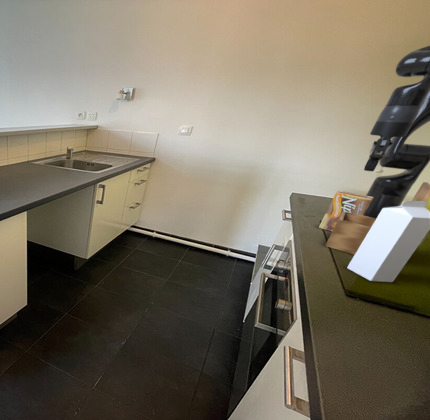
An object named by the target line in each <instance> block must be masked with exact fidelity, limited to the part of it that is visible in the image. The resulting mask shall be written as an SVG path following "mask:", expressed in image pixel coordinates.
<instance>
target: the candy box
mask: <svg viewBox="0 0 430 420" xmlns="http://www.w3.org/2000/svg"><path fill="white" fill-rule="evenodd" d="M373 198H374V197H370V196H366V194H365V195H364V194H359V193H354V192H349V191H344V190H337V191H336V192H335V194H334V196H333V198H332V200H331V202H330V203H329V206H328V208H327V210H326V212H325V214H324V216H323V218H322V220H321V222H320V224H319V226H318V228H319V229H322V230H325V231H328V232H332V230H333V228H334V226H335V225H336V223H337V221H338V219H339V217H340V215H341V213H342V212H343V211H345V212H350V213H354V214H359V215H364V214H365V212H366V210H367V208H368V207H369V205H370V203H371V201H372V200H373Z"/></svg>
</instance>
